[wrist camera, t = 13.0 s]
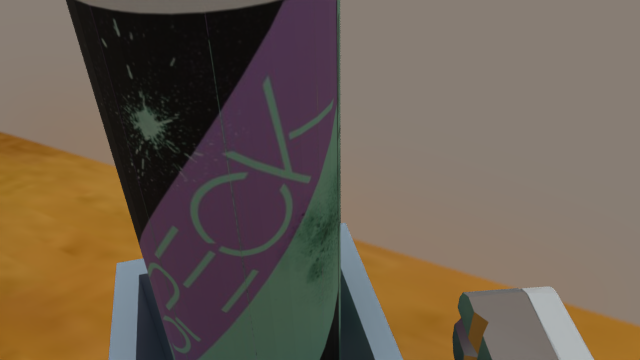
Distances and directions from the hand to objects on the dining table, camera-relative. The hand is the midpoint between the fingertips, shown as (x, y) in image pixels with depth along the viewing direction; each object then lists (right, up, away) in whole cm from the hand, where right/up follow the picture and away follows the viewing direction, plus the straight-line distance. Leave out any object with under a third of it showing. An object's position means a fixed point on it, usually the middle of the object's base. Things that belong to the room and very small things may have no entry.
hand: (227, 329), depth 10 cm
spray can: (0, -6, +12) cm, 13 cm away
